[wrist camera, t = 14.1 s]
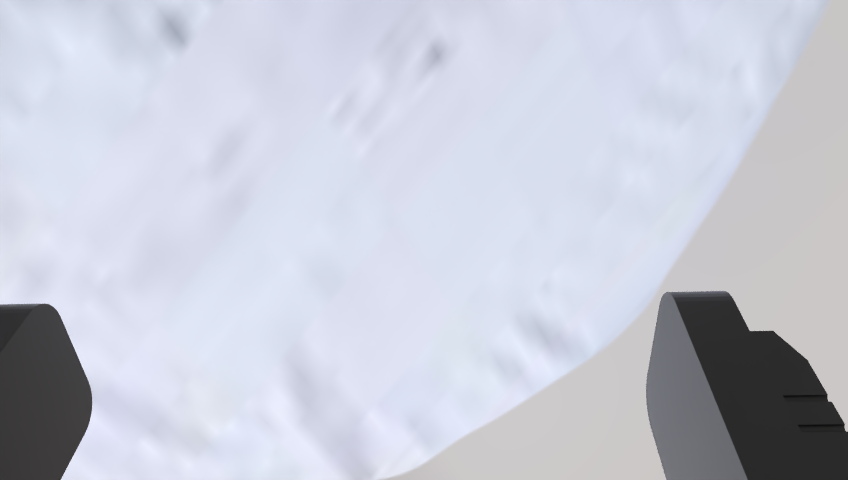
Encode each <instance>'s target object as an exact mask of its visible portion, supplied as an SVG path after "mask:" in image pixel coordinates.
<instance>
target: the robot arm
mask: <svg viewBox="0 0 848 480" xmlns="http://www.w3.org/2000/svg"><path fill="white" fill-rule="evenodd" d="M646 385H647V386H646V398H647V409H648V416H649V421H650V425H651V429H652V432H653V436H654V439H655V442H656V446H657V449H658V453H659V456H660V459H661V463H662V466H663V469H664V473H665V476H666V479H667V480H848V432H846V431H845V428H844V425H845V424H844V422H843V420H842V419H841V417H840V415H839V414H838V412H837V410H836V408H835V407H834V405H833V403H832V402H828V399H827V393H826V391H825V390H824V388H823V386H822V384H821V383H820V381H819V379H818V378H817V376H816V374H815V372H814V371H813V369H812V367H811V366H810V364H809V362H808V360H807V359H805V358H804V357H803V356H802V355H801V354H800V353H798V352H797V351H796V350H795V349H794V348H792V347H791V346H790V345H789V344H788V343H787V342H785V341H784V340H783V339H782V338H781V337H779V336H778V335H777V334H776V333H775V332H774V331H749V329H748V327H747V325H746V323H745V321H744V319H743V317H742V315H741V313H740V311H739V310H738V307H737V306H736V304H735V302H734V300H733V298H732V297H731V296H730V294H729V293H728V292H726V291H710V292H709V291H706V292H666V293H665V294H664V295H663V296H662V298H661V302H660V306H659V311H658V317H657V323H656V329H655V335H654V341H653V346H652V352H651V357H650V364H649V370H648V375H647V384H646ZM91 411H92V394H91V388H90V385H89V382H88V380H87V377H86V375H85V373H84V370H83V368H82V366H81V363H80V361H79V359H78V356H77V354H76V352H75V349H74V347H73V345H72V343H71V340H70V338H69V336H68V333H67V331H66V329H65V326H64V324H63V322H62V319H61V317H60V315H59V313H58V312H57V310H56V309H55V308H54V307H52V306H51V305H49V304H8V305H0V480H61V478H62V476H63V474H64V472H65V470H66V468H67V466H68V465H69V463H70V461H71V459H72V457H73V455H74V453H75V451H76V449H77V447H78V445H79V444H80V442H81V440H82V438H83V436H84V434H85V432H86V430H87V427H88V424H89V421H90V417H91Z"/></svg>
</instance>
